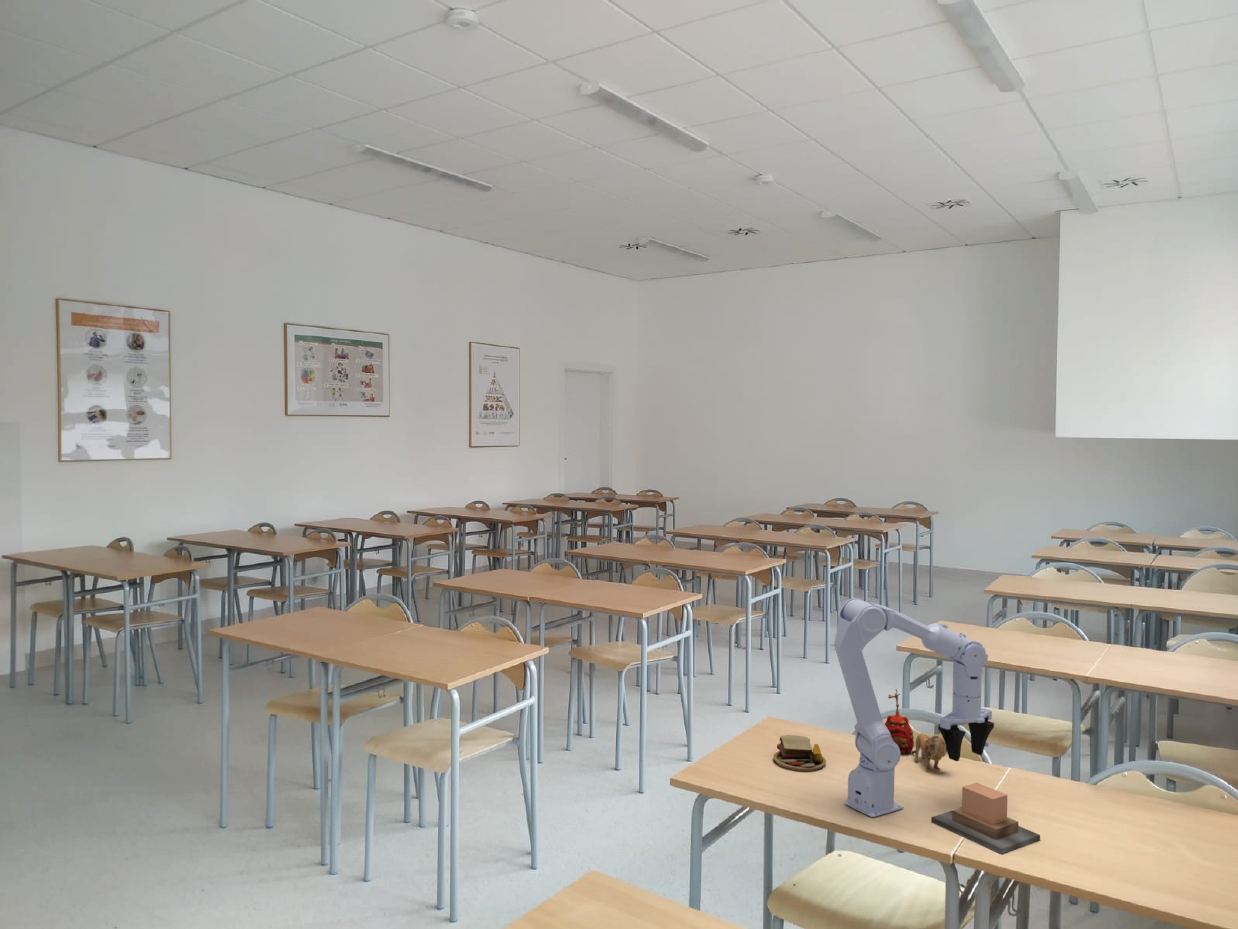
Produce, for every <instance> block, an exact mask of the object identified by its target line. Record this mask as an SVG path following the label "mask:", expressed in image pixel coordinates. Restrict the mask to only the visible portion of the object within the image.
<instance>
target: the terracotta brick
mask: <svg viewBox="0 0 1238 929" xmlns="http://www.w3.org/2000/svg"><path fill="white" fill-rule="evenodd" d="M961 788H962V789H961V791H962V792H961V793H962V794H961V807H962V812H965V813H967V814H969V815H972V816H974V817H976V818H978V819H981V820H983V821H985V822H988V823H990V824H992V825H993V824H996V823H999V822H1002V821H1005V820H1007V817H1008V794H1006V793H1004V792H1001V791H999V790H997V789H994V788H991V787H989V786H986V785H983V784H981V783H979V782H974V783H971V784H968V785H964V786H962V787H961Z"/></svg>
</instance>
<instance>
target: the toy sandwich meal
mask: <svg viewBox="0 0 1238 929" xmlns="http://www.w3.org/2000/svg"><path fill="white" fill-rule="evenodd" d="M779 742H780V743H777V745H776V746H777V747H776V748H777V750H778V751H777V752H775V753H774V754H773V757H772V758H773V760H774V761H775V763H777V764H778V765H779V766H780V767H781V768H785V769H788V770H791V771H798V772H812V771H816V770H820V769H821V768H823V767H824V766H825V765H826V763H827V760H826V759H825V757H824V756H823V755H822V752H821V751H822V750H821V747H819V744H817V743H815V744H814V745H813V748H812V745H811V743H810V742H811V738H809V737H806V736H802V735H795V734H794V735H791V734H789V735H786V734H785V735H781V736H779Z"/></svg>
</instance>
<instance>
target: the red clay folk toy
mask: <svg viewBox="0 0 1238 929" xmlns="http://www.w3.org/2000/svg"><path fill="white" fill-rule="evenodd" d="M900 695H901V694H900V693H898V689H897V688H896V689H895V693H894V695H891V694H888V697H887V698H888V699H893V698H895V702H896V704H895V706H896V708H895V709H896V710H895V715H888V716H887V717H886V721H885V722H884V724H885V725H886V727H887V729H888V730H889V732H890V734H891V737H892V739H893V741H894V742H895V743H896V744H897V745H898V747H899V749H900V753H901V755H903V754H905V755H911V754H912V753H911V752H912V751H913V748H914V747H915V741H914V738H915V737H914V732H913V729H912V727H911V725H910V723H909V719H908V717H907V716H900V711H899V710H900V709H899V707H900V704H899V696H900Z"/></svg>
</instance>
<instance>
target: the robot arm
mask: <svg viewBox="0 0 1238 929" xmlns="http://www.w3.org/2000/svg"><path fill="white" fill-rule="evenodd" d="M837 618H838V623H837V628H836V634H835V638H834V649H835V651H836V652H835V653H836V656H837V659H838V663H839V665H840V669H841V672H842V675H843V678H844V683H845V686H846V688H847V693H848V696H849V698H850V702H851V706H852V709H853V713H854V715H855V719H856V724H855V725H854V730H855V738H854V744H855V748H856V750H857V751H858V752H859V755H860V756H859V761H858V762H859V763H858V765H857V766H856V767H855V768H854V769H852V770H851V771H850V772H849V774H848V778H847V800H846V801H844V805H846V806H848V807H850V808H853V809H854V810H857V811H858V812H861V813H862V814H864V815H867V816H868V817H871V818H875V817H879V816H882V815H886V814H889V813H893V812H895V811H900V810H902V809H904V806H903V805H902V804H900V803H897V802H895V768H896V766H898V764H899V762H900V760H901V755H902V754H901V753H900V749H899V747H898V745H897V744H896V743H895V742H894V741H893V739H892V737H891V734H890V732H889V730H888V729H887V727H886V725H885V722H884V720H883V717H882V715H881V711H880V708H879V705H878V704H879V703H878V701H877V697H876V693H875V690H874V688H873V684H872V680H871V677H870V674H869V671H868V667H867V663H866V660H865V658H864V657H865V656H864V654H863V653H864V652H863V650H864V649H865V647H866V646H867V644H868V643H870V642H871V641H872V640H874V638H876V637H877V636H878V635H879V634H880V633H881V632H882V631H883V630H885V631H887V632H888V631H890V630H892V629H893V628H894V629H897V630H899V631H901V632H904V633H906V634H909V635H911V636H913V637H916V638H918V639H920V640H921V643H922V646H923V647H924V648H925V649H927V650H930V651H932V652H935V653H936V654H939V655H941V656H943V657H945V658H947V659H950V660H951V661H952V662H953V666H952V708H951V710H952V711H950V712H949V713H948V714H947V715H945V716H943V717H940V718H939V724H938V727H937V728H938V730H939V732H940V734H941V736H943V739H944V741H945V744H946V747H947V751H948V753H947V755H948V759H950V760H952V761H955V762H959V761H960V758H961V750H962V744H963V740H964V738H965V737H964V736H965V735H966V733H967V732H966V731H964V730H961V729H960V728H959V726H962V725H968V728H969V734H970V735H969V736H970V746H971V747H970V748H971V752H972V753H973V754H976V755H979V756H982V755H983V754H984V750H985V747H986V743H987V740H988V738H989V736H990V733H991V732H992V730H993V729H994V728H995V722H992V721H991V720H992V719H993V710H990V709H988V708H982V674H983V668H984V666H985V664H986V663H987V662H988V659H989V654H987V653H986V652H987V651H986V649H985V647H984V646H983V644H982V643H981V642H979V641H976V640H973V639H971V638H969V637H967V634H965V633H963V632H959V633H958V632H956V631H953V630H952V629H949V628H948V627H949V626H948V625H947V624H945V623H942V622H939V623H936V622H934V623H930V624H928V625H926V624H924V623H922V622H919V621H918V620H915V619H914V618H911V617H909V616H907V615H905V614H904V613H901V612H900V611H897V610H895V609H892V608H891V607H888V606H884V605H883V604H882V605H881V604H878V603H875V602H871V601H866V600H864V599H862V598H860V597H853V598H849V599H847V600H846V601H845V602H844V603H843V605H842V606H841V608H840V609H839V611H838V612H837Z"/></svg>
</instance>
